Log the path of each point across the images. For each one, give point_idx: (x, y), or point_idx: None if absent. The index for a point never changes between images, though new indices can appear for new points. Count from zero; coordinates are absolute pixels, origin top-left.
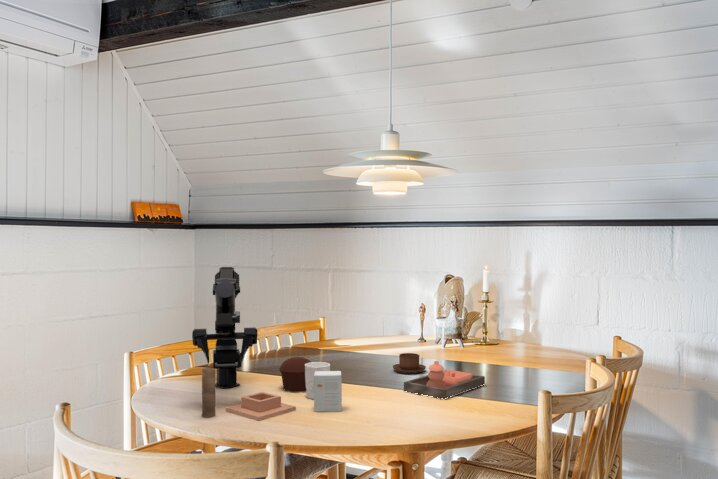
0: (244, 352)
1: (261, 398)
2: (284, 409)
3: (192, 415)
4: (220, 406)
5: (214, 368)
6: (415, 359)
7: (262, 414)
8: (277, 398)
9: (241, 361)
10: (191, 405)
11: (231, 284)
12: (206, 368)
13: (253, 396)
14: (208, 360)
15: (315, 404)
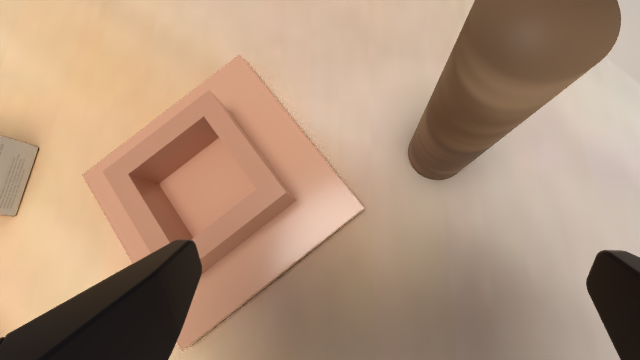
0: (59, 312)
1: None
2: (131, 140)
3: (511, 169)
4: (391, 300)
5: (483, 42)
6: None
7: (221, 84)
8: (124, 158)
9: (186, 243)
10: (546, 355)
11: None
12: (575, 48)
13: (224, 215)
14: (629, 256)
15: (8, 138)
